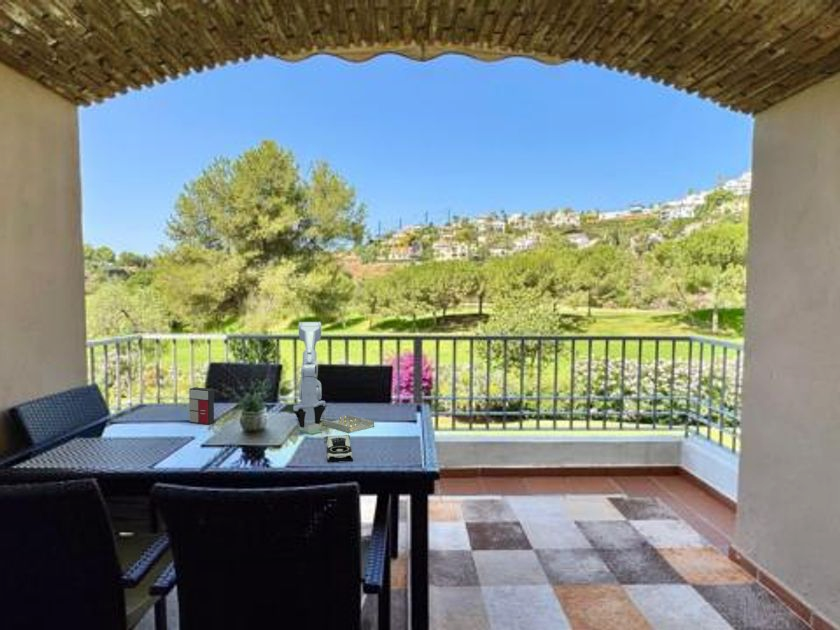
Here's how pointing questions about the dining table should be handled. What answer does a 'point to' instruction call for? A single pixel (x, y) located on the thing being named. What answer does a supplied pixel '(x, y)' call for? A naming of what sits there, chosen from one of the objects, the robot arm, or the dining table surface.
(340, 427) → the chassis
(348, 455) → the graphics card
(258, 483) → the dining table surface
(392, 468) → the dining table surface
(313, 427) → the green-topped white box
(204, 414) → the toy cabinet
